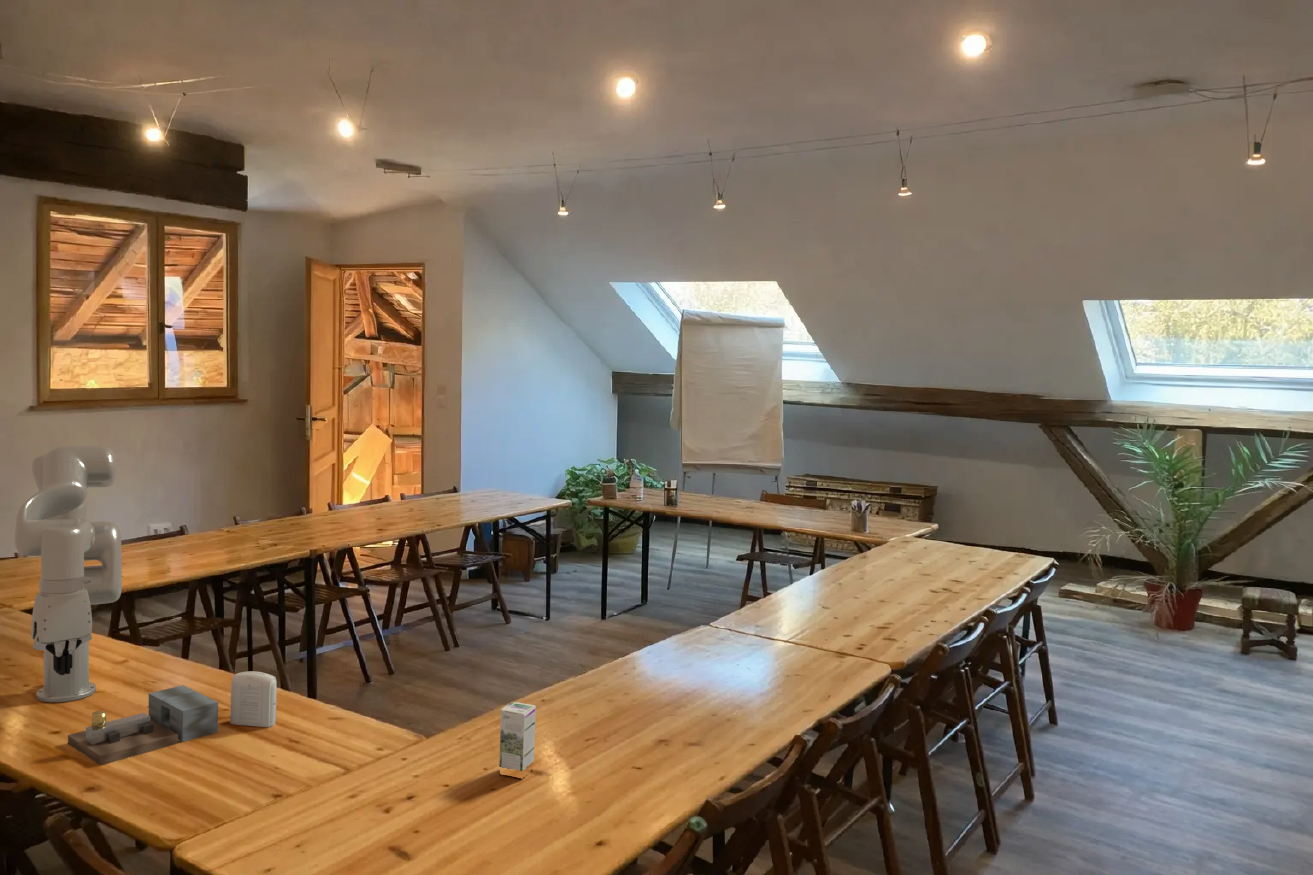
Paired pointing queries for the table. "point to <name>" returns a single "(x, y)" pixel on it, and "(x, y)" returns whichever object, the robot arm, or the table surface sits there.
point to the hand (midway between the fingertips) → (62, 672)
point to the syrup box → (517, 736)
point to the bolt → (114, 726)
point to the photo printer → (253, 699)
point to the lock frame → (157, 726)
